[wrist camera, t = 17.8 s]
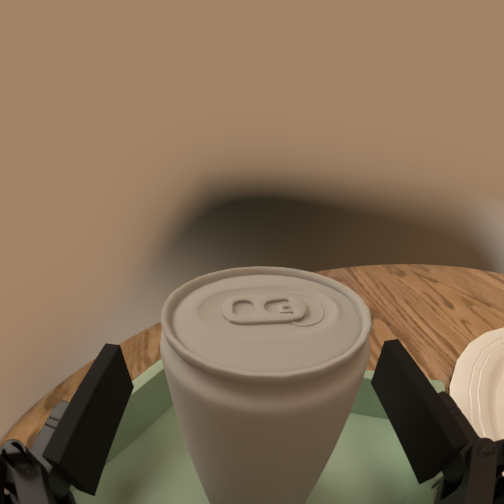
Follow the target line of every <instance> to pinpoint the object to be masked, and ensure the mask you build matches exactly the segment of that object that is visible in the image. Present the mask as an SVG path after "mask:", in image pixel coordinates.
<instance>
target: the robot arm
mask: <svg viewBox="0 0 504 504" xmlns="http://www.w3.org/2000/svg"><path fill="white" fill-rule="evenodd" d="M371 385H372V387H373V389H374V391H375V393H376V395H377V397H378V399H379V401H380V403H381V405H382V407H383V409H384V411H385V413H386V415H387V417H388V419H389V421H390V423H391V425H392V427H393V429H394V431H395V433H396V435H397V437H398V439H399V441H400V444H401V446H402V448H403V450H404V452H405V454H406V456H407V459H408V461H409V463H410V465H411V468H412V470H413V472H414V474H415V477H416V479H417V481H418V483H419V484H422V483H424V482H426V481H428V480H430V479H432V478H434V477H435V476H436V475H437V474H439V473H440V472H442V474H443V475H442V476H441V477H440V478H439V479H438V480H437V481H436V482H435V483H434V484H433V485H432V487H431V489H433V488H434V487H436V486H437V485H438V484H439V486H438V487H437V488H436V489H438V490H437V493H436V497H435V501H434V504H504V476H503V474H502V473H503V472H504V439H501V440H497V441H492V440H491V439H490V438H486V437H484V438H480V437H479V436H478V435H477V433H476V432H475V430H474V429H473V427H472V426H471V424H470V423H469V421H468V420H467V418H466V417H465V415H464V414H462V411H461V410H460V408H459V407H457V404H456V402H455V401H454V400H453V398H452V397H451V396H449V395H448V394H447V393H445V392H444V391H442V392H439V393H437V391H436V390H435V389H434V387H433V386H432V384H431V383H430V382H429V380H428V379H427V377H426V376H425V375H424V373H423V372H422V371H421V369H420V368H419V367H418V365H417V364H416V362H415V361H414V360H413V358H412V357H411V356H410V354H409V353H408V352H407V350H406V349H405V348H404V347H403V345H402V344H401V343H400V341H399V340H398V339H395V340H389V341H384V345H383V348H382V351H381V354H380V357H379V360H378V363H377V366H376V369H375V372H374V374H373V377H372V380H371ZM133 388H134V386H133V383H132V380H131V378H130V375H129V372H128V369H127V366H126V363H125V360H124V357H123V354H122V350H121V347H120V345H113V344H105V346H104V347H103V349H102V350H101V352H100V353H99V355H98V356H97V358H96V359H95V361H94V363H93V364H92V366H91V367H90V369H89V371H88V372H87V374H86V376H85V377H84V379H83V381H82V382H81V384H80V386H79V387H78V389H77V391H76V392H75V394H74V396H73V397H72V399H71V401H70V402H67V401H64V400H62V401H61V402H60V403H59V404H57V405H56V406H55V407H54V408H53V410H52V412H51V413H50V415H49V418H48V419H47V420H46V422H45V425H44V426H43V427H42V429H41V431H40V433H39V435H38V436H37V438H36V440H35V442H34V444H33V446H32V448H31V449H30V451H29V450H28V449H27V448H26V447H25V446H24V444H23V443H22V442H21V441H19V440H17V439H10V440H7V441H6V442H4V443H3V444H2V446H1V448H0V504H76V501H75V499H74V496H73V494H72V492H71V490H70V487H71V485H73V486H74V487H75V488H76V489H77V490H79V491H81V492H84V493H87V494H89V495H92V496H95V494H96V491H97V487H98V484H99V481H100V478H101V475H102V472H103V469H104V466H105V463H106V460H107V457H108V454H109V451H110V449H111V446H112V443H113V440H114V438H115V435H116V432H117V429H118V427H119V424H120V421H121V419H122V416H123V414H124V411H125V408H126V406H127V403H128V401H129V398H130V396H131V393H132V391H133ZM4 488H5V489H6V493H5V494H4Z"/></svg>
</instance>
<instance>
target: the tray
mask: <svg viewBox="0 0 504 504" xmlns="http://www.w3.org/2000/svg"><path fill="white" fill-rule="evenodd" d="M374 372H375V371H370V370H365V373H364V376H363V379H362V382H361V385H360V388H359V390H358V393H357V396H356V399H355V401H354V404H353V406H352V409H351V411H350V414H349V416H348V419H347V421H346V423H345V426H344V428H343V430H342V433H341V435H340V437H339V439H338V442H337V444H336V446H335V448H334V450H333V452H332V454H331V456H330V458H329V460H328V462H327V464H326V466H325V468H324V470H323V472H322V474H321V476H320V478H319V479H318V481H317V483H316V485H315V487H314V488H313V490H312V492H311V493H310V495H309V497H308V499H307V500H306V502H305V503H304V504H434V501H435V497H436V493H437V490H438V489H436V488H437V487H438V486H439V484H438V485H437V486H436V487H434V488H433V489H431V487H432V485H433V484H434V483H435V482H436V481H437V480H438V479H439V478H440V477H441V476H442V475H443V474H442V472H440V473H439V474H437V475H436V476H435V477H434V478H432V479H430V480H428V481H426V482H424V483H422V484H419V483H418V481H417V479H416V477H415V474H414V472H413V470H412V468H411V465H410V463H409V461H408V459H407V456H406V454H405V452H404V450H403V448H402V446H401V444H400V441H399V439H398V437H397V435H396V433H395V431H394V429H393V427H392V425H391V423H390V421H389V419H388V417H387V415H386V413H385V411H384V409H383V407H382V405H381V403H380V401H379V399H378V397H377V395H376V393H375V391H374V389H373V387H372V385H371V380H372V377H373V374H374ZM428 380H429V382H430V383H431V384H432V386H433V387H434V389H435V390H436V391H437V393H439V392H442V391H444V392H445V388H444V381H440V380H433V379H428ZM132 383H133V386H134V388H133V391H132V393H131V396H130V398H129V401H128V403H127V406H126V408H125V411H124V414H123V416H122V419H121V421H120V424H119V427H118V429H117V432H116V435H115V438H114V440H113V443H112V446H111V449H110V451H109V454H108V457H107V460H106V463H105V466H104V469H103V472H102V475H101V478H100V481H99V484H98V487H97V491H96V494H95V496H92V495H89V494H87V493H84V492H81V491H79V490H77V489H76V488H75V487H74V486H73V485H71V487H70V490H71V492H72V494H73V496H74V499H75V501H76V504H210V502H209V500H208V498H207V496H206V494H205V491H204V489H203V487H202V484H201V482H200V479H199V477H198V474H197V472H196V469H195V467H194V464H193V461H192V459H191V456H190V453H189V450H188V448H187V445H186V442H185V439H184V436H183V433H182V430H181V427H180V424H179V420H178V417H177V414H176V411H175V407H174V404H173V400H172V397H171V393H170V389H169V386H168V382H167V378H166V374H165V370H164V366H163V362H162V358H161V359H160V360H159V361H157V362H156V363H155V364H154V365H152V366H151V367H150V368H149V369H147V370H146V371H145V372H144V373H142V374H141V375H140V376H138V377H137V378H136V379H135V380H133V381H132Z"/></svg>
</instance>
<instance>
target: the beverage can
mask: <svg viewBox="0 0 504 504" xmlns="http://www.w3.org/2000/svg"><path fill="white" fill-rule="evenodd" d="M161 325H162V335H161V343H160V352H161V357H162V362H163V366H164V370H165V374H166V378H167V382H168V386H169V389H170V393H171V397H172V400H173V404H174V407H175V411H176V414H177V417H178V420H179V424H180V427H181V430H182V433H183V436H184V439H185V442H186V445H187V448H188V450H189V453H190V456H191V459H192V461H193V464H194V467H195V469H196V472H197V474H198V477H199V479H200V482H201V484H202V487H203V489H204V491H205V494H206V496H207V498H208V500H209V502H210V504H304V503H305V502H306V500H307V499H308V497H309V495H310V493H311V492H312V490H313V488H314V487H315V485H316V483H317V481H318V479H319V478H320V476H321V474H322V472H323V470H324V468H325V466H326V464H327V462H328V460H329V458H330V456H331V454H332V452H333V450H334V448H335V446H336V444H337V442H338V439H339V437H340V435H341V433H342V430H343V428H344V426H345V423H346V421H347V419H348V416H349V414H350V411H351V409H352V406H353V404H354V401H355V399H356V396H357V393H358V390H359V388H360V385H361V382H362V379H363V376H364V373H365V370H366V367H367V364H368V361H369V357H370V344H369V334H370V331H371V328H372V324H371V315H370V310H369V309H368V307H367V305H366V304H365V302H364V301H363V299H362V298H361V297H360V296H359V295H358V294H356V293H355V292H354V291H353V290H352V289H350V288H349V287H347V286H345V285H343V284H341V283H340V282H338V281H336V280H334V279H331V278H328V277H325V276H322V275H319V274H316V273H312V272H307V271H303V270H298V269H290V268H282V267H259V266H258V267H243V268H234V269H228V270H222V271H217V272H214V273H210V274H207V275H203V276H200V277H198V278H196V279H194V280H191V281H189V282H187V283H185V284H183V285H182V286H181V287H179V288H178V289H177V290H175V291H174V292H173V293H172V294H171V295H170V297H169V298H168V299H167V301H166V302H165V304H164V305H163V309H162V315H161Z"/></svg>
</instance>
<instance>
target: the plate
mask: <svg viewBox="0 0 504 504" xmlns="http://www.w3.org/2000/svg"><path fill="white" fill-rule="evenodd" d="M449 396H451V397H452V398H453V400H454V401H455V402H456V404H457V407H459V408H460V410H461V411H462V414H464V415H465V417H466V418H467V420H468V421H469V423H470V424H471V426H472V427H473V429H474V430H475V432H476V433H477V435H478V436H479V437H480V438H484V437H486V438H490V439H491V440H492V441H497V440H501V439H504V328H500V329H497V330H493V331H489V332H486V333H484V334H483V335H481V336H480V337H478V338H477V339H475V340H474V341H472V342H470V343H469V345H468V346H467V348H466V349H465V350H464V352H463V353H462V354H461V356H460V357H459V358H458V360H457V362H456V365H455V369H454V372H453V376H452V379H451V382H450V386H449ZM502 474H503V476H504V472H503V473H502Z"/></svg>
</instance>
